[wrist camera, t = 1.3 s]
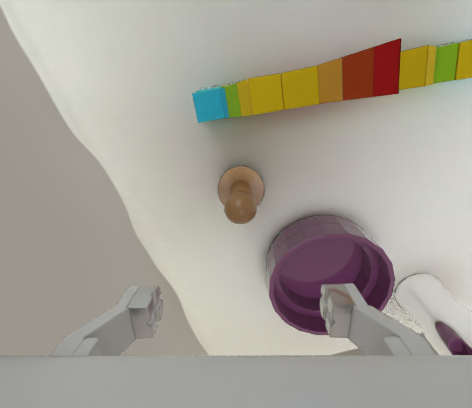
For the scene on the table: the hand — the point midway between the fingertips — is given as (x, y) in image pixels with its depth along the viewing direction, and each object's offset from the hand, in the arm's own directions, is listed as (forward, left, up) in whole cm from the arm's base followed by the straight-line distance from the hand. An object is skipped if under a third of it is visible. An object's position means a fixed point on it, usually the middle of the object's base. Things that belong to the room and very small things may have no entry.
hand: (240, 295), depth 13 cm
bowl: (+11, +10, -20) cm, 24 cm away
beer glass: (+16, +24, -20) cm, 35 cm away
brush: (0, 0, -20) cm, 20 cm away
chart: (-11, +11, -20) cm, 25 cm away
